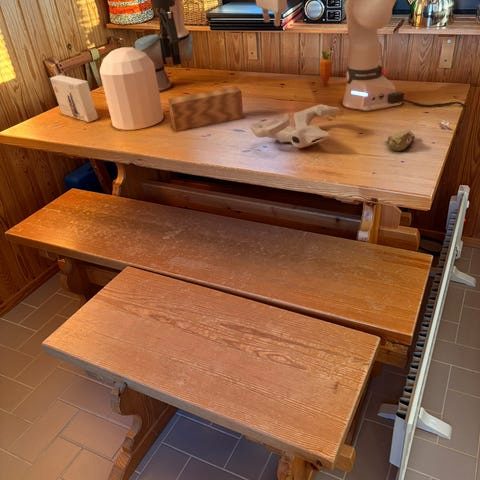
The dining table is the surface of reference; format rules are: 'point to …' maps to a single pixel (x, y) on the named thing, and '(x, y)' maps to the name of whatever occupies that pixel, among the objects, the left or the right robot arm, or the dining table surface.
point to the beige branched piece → (297, 127)
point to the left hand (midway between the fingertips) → (173, 60)
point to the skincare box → (74, 97)
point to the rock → (400, 140)
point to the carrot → (325, 67)
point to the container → (131, 89)
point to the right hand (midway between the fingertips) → (271, 23)
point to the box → (206, 108)
